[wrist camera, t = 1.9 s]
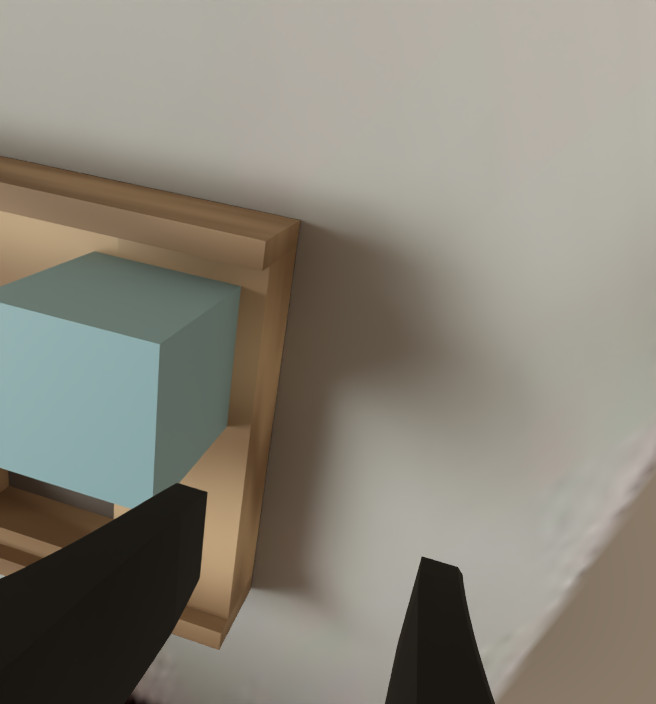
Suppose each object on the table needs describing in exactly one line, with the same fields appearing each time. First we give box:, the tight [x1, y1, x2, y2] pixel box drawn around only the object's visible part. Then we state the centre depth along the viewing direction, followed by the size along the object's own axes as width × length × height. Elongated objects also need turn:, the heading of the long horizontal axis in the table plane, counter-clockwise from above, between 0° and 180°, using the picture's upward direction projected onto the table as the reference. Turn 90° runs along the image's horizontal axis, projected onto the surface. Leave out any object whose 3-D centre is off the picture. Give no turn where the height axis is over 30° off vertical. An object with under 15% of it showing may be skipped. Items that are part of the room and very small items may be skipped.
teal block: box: [0, 251, 241, 509], centre depth 16 cm, size 4×4×4 cm
